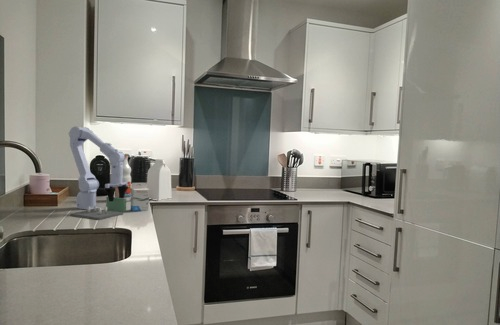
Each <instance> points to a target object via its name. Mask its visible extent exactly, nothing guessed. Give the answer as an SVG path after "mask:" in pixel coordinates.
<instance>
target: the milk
mask: <svg viewBox="0 0 500 325" xmlns="http://www.w3.org/2000/svg"><path fill="white" fill-rule="evenodd" d="M146 183H147V185H146V188H147V189H149V198H151V199H157V200H161V199H167V198H172V195H173V194H172V172H171V169H170V167H168V165H166V162H165V159H159V158H156V159H155V161H154V162H153V164H152V165H151V166H150V167H149V169H148V170H147V178H146Z"/></svg>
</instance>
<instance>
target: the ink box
mask: <svg viewBox="0 0 500 325" xmlns="http://www.w3.org/2000/svg"><path fill="white" fill-rule="evenodd" d="M146 187H147V182H131V200H130V211H132V212H143V211H144V212H148V211H149V206H150V205H149V204H150V203H149V202H150V200H149V189H147V188H146Z"/></svg>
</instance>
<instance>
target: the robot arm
mask: <svg viewBox="0 0 500 325" xmlns="http://www.w3.org/2000/svg"><path fill="white" fill-rule="evenodd" d="M68 135H69V147H70V150H71V153H72V155H73V160H74V162H75V164H76V167H77V170H78V171H77V172H78V173H79V177H78V180H77V181H78V189H79V192H78V193H77V195H76V206H75V209H78V210H79V209H80V210H85V211H87V210H88V207H90V210H92V209H94V206H96V209H99V208H100V206H97V190H98V189H99V187H100V182H99V180H98V179H97V178H96V176H95V175H94V174H93V173H92V172H91V169H90V166H89V163H88V160H87V158H86V155H85V152H84V149H83V145H84V143H85V142H86V141H87V140H89V141H90V142H92V143H93V144H94V145H96V147H98V148H99V151H100V152H101V153H102V154H104V156H106V158H108V160H109V162H110V166H111V168H110V170H111V171H110V175H111V176H110V182H109V183H105V184H104V191H105V193H106V194H107V197H108V198H109V201H113V200H114V197H115V187H118V190H119V198H124V195H125V192H126V190H127V189H128V186H127V183H128V182H122V177H123V161H124V160H125V156H126V155H125V153H123V152H122V151H119V150H118V148H115V147H114V146H112V144H111V143H110V142H104V141H103V140H102V139H101V138H99V137H98V136H97V135H96V134H95V133H94V131H92V130H91V129H90V128H89V127H86V126H85V127H83V126H82V127H80V126H76V125H75V126H73V127H71V128H70V130H69V131H68ZM115 185H118V186H115Z"/></svg>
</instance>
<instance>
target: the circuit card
mask: <svg viewBox="0 0 500 325" xmlns="http://www.w3.org/2000/svg"><path fill="white" fill-rule="evenodd" d="M105 198H106V199H105V203H106V204H105V207H107V210H108V211H115V212H123V213H126V212H127V201H126V199H125V198H116V197H115V196H114V200H113V201H109V198H108V196H106V197H105Z"/></svg>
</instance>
